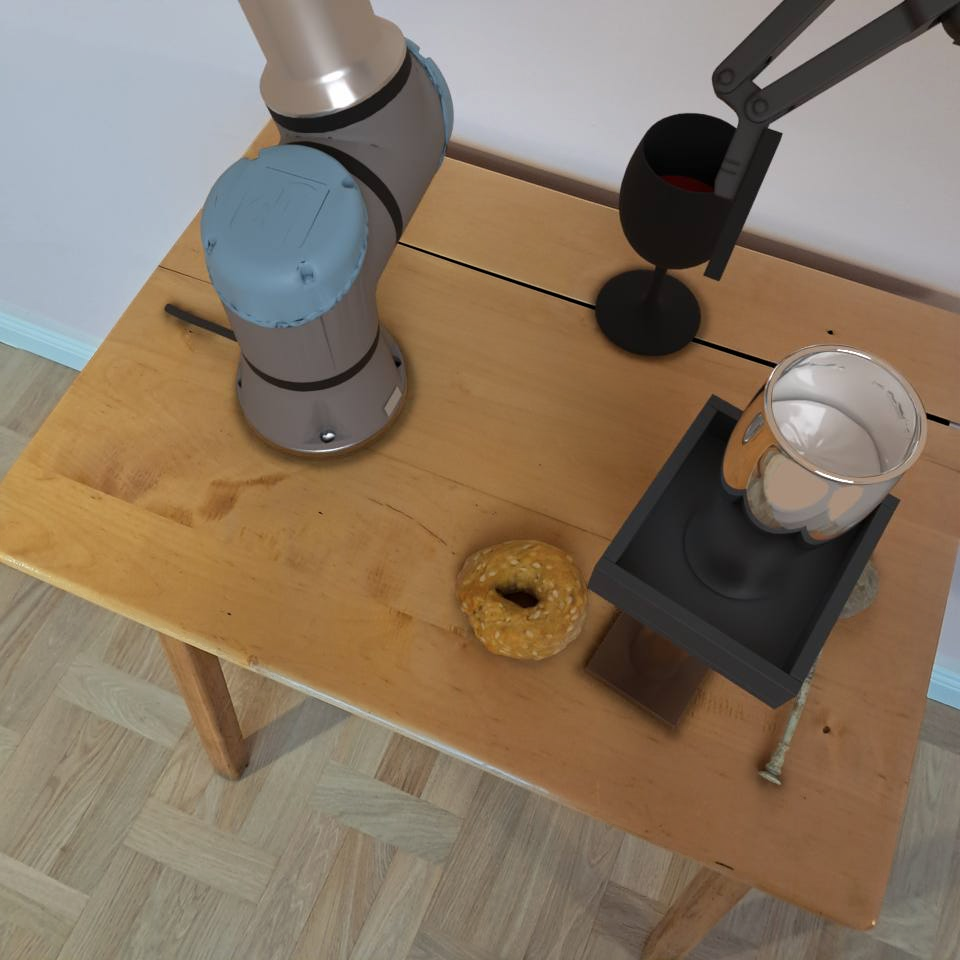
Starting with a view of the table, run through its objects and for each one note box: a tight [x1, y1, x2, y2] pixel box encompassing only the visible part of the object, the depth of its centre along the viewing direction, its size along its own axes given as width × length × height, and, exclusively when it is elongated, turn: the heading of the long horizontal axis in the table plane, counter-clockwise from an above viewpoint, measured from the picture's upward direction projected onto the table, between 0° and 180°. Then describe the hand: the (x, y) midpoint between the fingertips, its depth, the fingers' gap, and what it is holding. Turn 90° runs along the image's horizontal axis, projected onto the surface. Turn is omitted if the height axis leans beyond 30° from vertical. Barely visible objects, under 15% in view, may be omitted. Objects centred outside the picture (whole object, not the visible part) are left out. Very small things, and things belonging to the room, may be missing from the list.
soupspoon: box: [757, 558, 880, 786], centre depth 69 cm, size 22×3×7 cm
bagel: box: [454, 539, 590, 661], centre depth 69 cm, size 10×11×5 cm
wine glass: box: [594, 112, 737, 357], centre depth 76 cm, size 10×10×20 cm
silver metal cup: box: [684, 343, 928, 600], centre depth 42 cm, size 7×7×15 cm
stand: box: [583, 610, 711, 731], centre depth 59 cm, size 8×8×23 cm
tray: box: [586, 393, 901, 710], centre depth 48 cm, size 12×13×3 cm
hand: (855, 332), depth 39 cm, fingers open, 13 cm apart
